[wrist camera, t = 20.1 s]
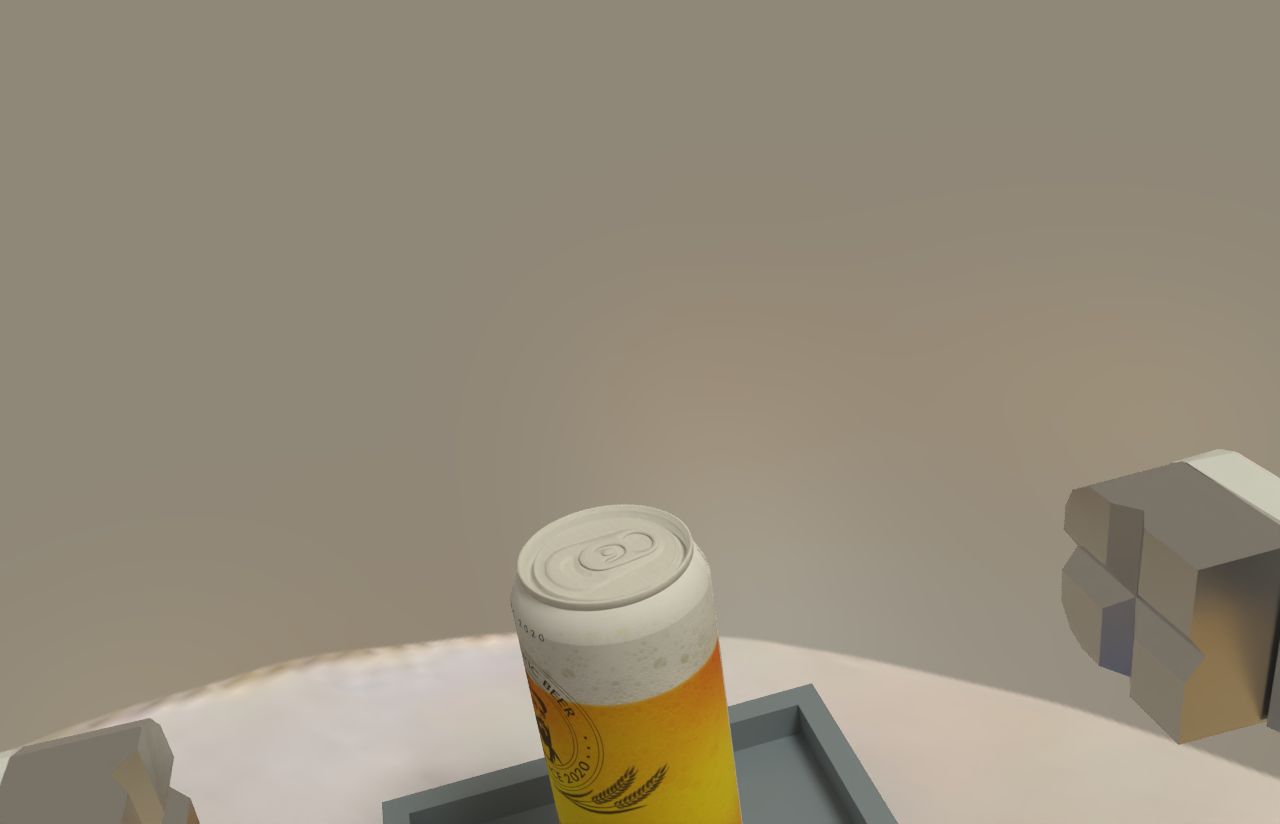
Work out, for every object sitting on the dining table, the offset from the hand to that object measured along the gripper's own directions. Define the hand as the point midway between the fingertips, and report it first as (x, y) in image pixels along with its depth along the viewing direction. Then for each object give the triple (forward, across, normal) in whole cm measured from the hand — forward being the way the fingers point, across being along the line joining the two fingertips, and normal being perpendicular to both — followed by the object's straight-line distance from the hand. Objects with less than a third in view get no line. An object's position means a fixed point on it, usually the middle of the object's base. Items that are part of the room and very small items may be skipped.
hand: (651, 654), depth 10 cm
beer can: (+21, -3, +27) cm, 34 cm away
